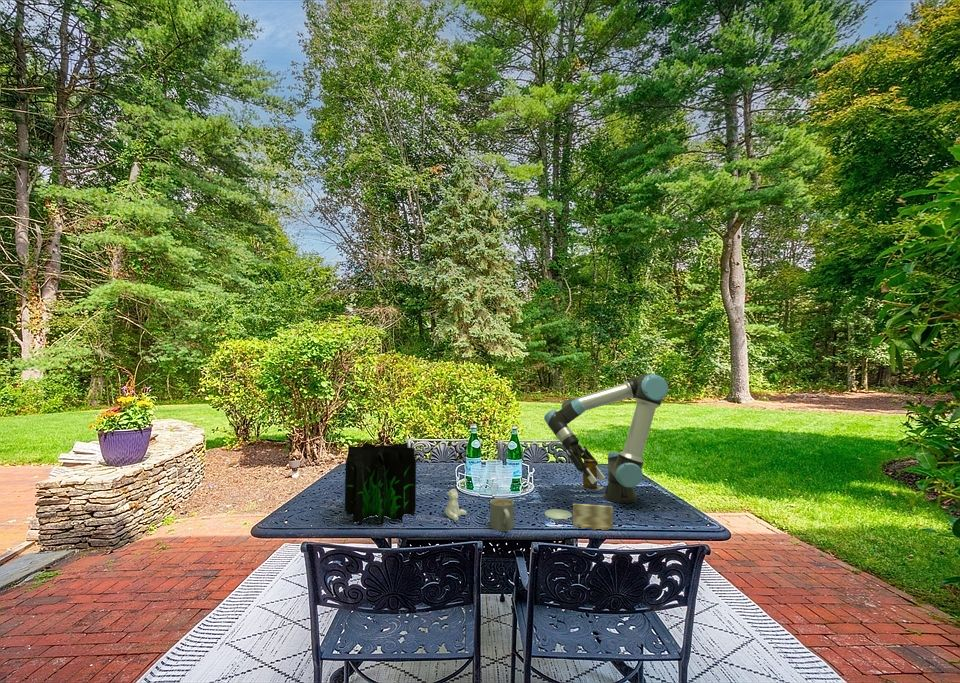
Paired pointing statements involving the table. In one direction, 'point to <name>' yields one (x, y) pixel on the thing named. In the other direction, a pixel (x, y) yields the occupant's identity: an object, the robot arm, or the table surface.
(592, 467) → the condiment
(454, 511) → the white creature statuette
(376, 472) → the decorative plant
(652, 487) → the table surface
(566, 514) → the pad
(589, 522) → the birch screen
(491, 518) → the coffee mug
